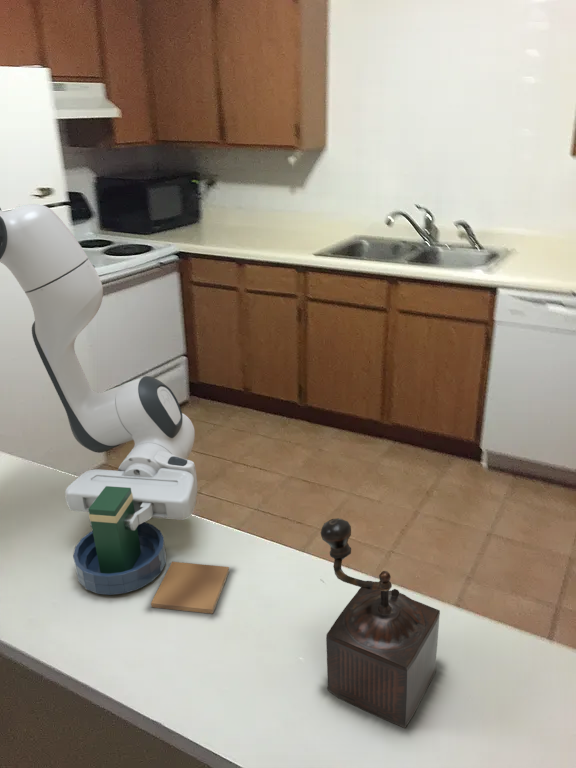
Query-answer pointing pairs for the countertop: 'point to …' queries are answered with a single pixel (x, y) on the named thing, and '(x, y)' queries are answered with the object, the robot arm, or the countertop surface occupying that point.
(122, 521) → the tea packet
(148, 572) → the bowl
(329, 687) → the manual coffee grinder
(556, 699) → the countertop surface
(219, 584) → the cork mat
